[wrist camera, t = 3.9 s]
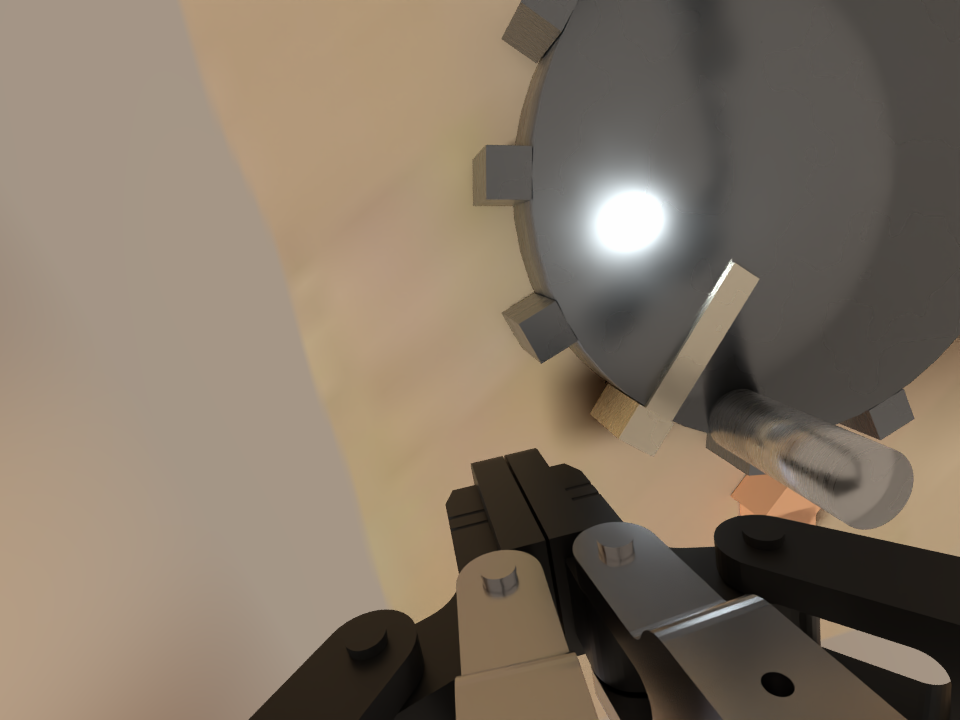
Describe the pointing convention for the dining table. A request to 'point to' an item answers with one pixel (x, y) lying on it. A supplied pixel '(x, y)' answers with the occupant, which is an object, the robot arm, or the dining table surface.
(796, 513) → the pointer block
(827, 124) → the sprocket wheel
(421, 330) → the dining table surface
